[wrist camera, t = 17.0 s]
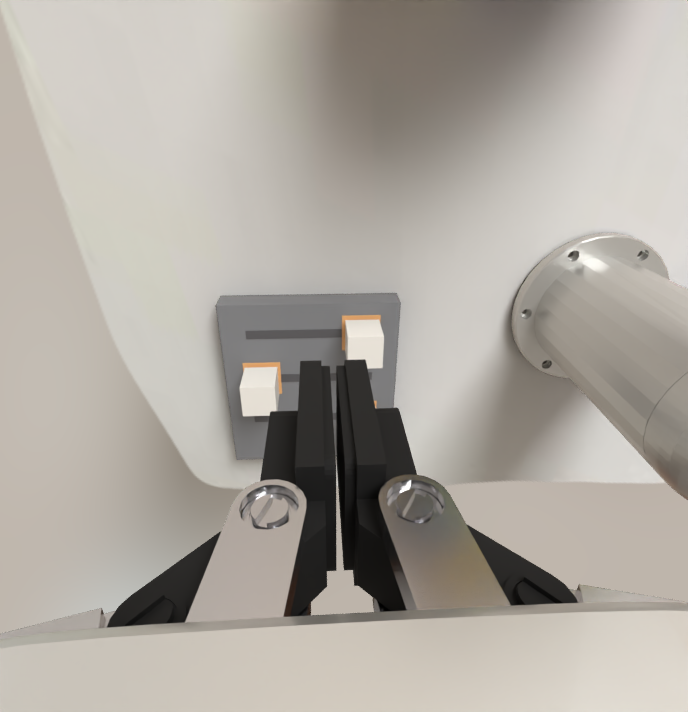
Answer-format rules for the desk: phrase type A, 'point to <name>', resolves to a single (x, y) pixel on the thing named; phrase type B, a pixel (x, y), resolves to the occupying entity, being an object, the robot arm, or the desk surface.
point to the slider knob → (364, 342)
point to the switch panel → (298, 349)
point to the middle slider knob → (259, 391)
